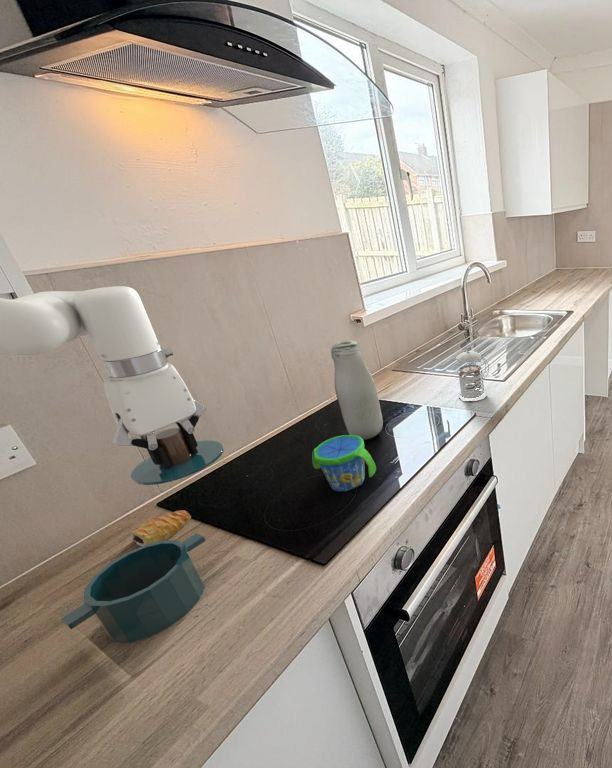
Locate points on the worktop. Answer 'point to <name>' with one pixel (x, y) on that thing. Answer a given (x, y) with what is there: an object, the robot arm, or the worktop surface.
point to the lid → (176, 459)
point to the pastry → (160, 528)
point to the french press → (469, 389)
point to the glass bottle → (356, 391)
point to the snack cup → (343, 461)
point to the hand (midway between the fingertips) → (178, 457)
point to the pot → (143, 591)
